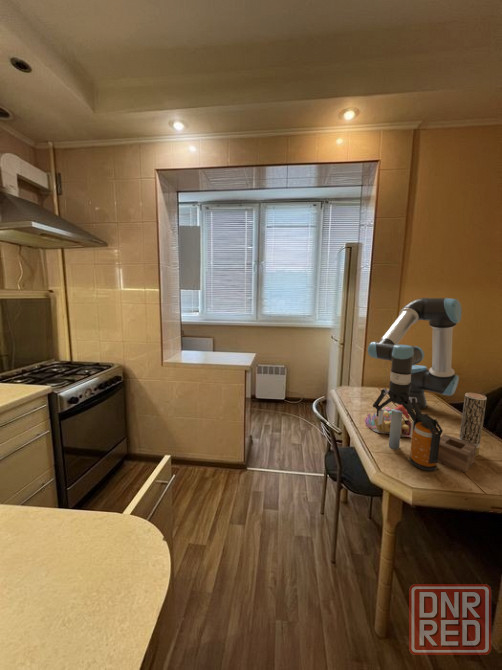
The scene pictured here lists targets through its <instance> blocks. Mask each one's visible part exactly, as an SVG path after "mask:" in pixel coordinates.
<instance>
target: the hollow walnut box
mask: <svg viewBox="0 0 502 670" xmlns="http://www.w3.org/2000/svg"><path fill="white" fill-rule="evenodd" d="M476 446H477V445H474V444H472V443H469V442H466V441H463V440H460V439H459V438H457V437H454V436H451V435H449V434H445V433H444V434H441V436H440V445H439V453H438V463H442V464H444V465H446V466H448V467H451V468H453V469H456V470H458V471H460V472H463V473H467V471H468V470H469V469H470V468H471V466H472V465H473V464H474V463H475V460H476V459H475V458H476V457H475V453H476Z"/></svg>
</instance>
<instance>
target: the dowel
mask: <svg viewBox="0 0 502 670" xmlns="http://www.w3.org/2000/svg"><path fill="white" fill-rule="evenodd" d="M391 410H392V409H391ZM402 417H403V412H401V411H399V410H392V416H391V426H390V434H389V438H388V447H389V448H390V449H392V450H399V449H400V441H401V437H400V434H401V424H402Z"/></svg>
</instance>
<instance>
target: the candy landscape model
mask: <svg viewBox="0 0 502 670" xmlns="http://www.w3.org/2000/svg"><path fill="white" fill-rule="evenodd" d="M382 409H383V421H382V424H380V425H378V416H377V411H376V412H374V413H373V414H371V413H370V412H368V413H367V414H366V415H367V416H366V417H365V419H364V423H365V424H366V427H368V428H370V429H371V430H372V431H374V432H375V433H379V434H388V435H390V426H391V416H392V410H399V411H401V412H403V414H402V424H401V434H400V438H406V437H407V438H408V437H409V438H411V437H410V432H411V422H412V421H411V420H410V418H411V417H410V415H409V414H408V412H407V410H406V409H405V408H404V407H403V405H399V404H397V406H396V407H395V408H394V409H392V408H390V407H389V406H384V407H383V408H382ZM403 416H405V418H404V417H403Z"/></svg>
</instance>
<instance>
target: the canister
mask: <svg viewBox="0 0 502 670" xmlns="http://www.w3.org/2000/svg"><path fill="white" fill-rule="evenodd" d="M419 417H420V418H421V421H423V422H419V423H417V424H416V425H415V429H414V430H413V432H412V438H411V441H410V442H411V445H410V453H409V462H410V463H411V464H412V465H413V466H414V467H416V468H418V469H421V470H423V471H424V470H425V471H429V472H430V471H435V470H436V469H437V468H438V464H439V461H438V453H439V445H440V437H441V436H442V435H443V434H442V433H443V432H444V430H443V429H442V427H441V425H440V424H439V422H438V420H437V418H436V419H434V418H433V417H431V416H430V415H429V414H427V413H422V414H421V415H419Z"/></svg>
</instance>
